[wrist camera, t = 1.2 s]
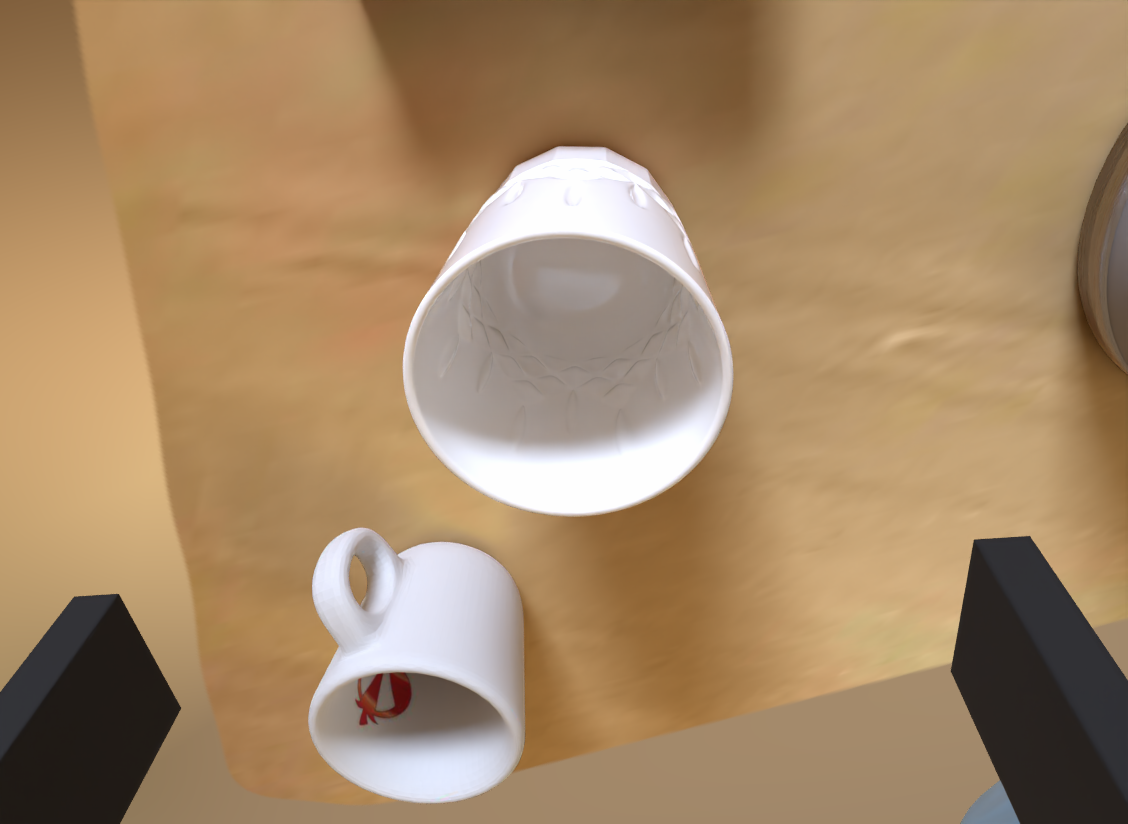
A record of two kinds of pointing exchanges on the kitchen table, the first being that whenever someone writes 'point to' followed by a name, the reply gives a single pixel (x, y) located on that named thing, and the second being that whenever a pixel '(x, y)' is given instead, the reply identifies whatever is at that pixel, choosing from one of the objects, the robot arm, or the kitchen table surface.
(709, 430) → the white cup
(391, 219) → the kitchen table surface
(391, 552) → the cup
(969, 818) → the robot arm
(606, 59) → the kitchen table surface
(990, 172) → the kitchen table surface
